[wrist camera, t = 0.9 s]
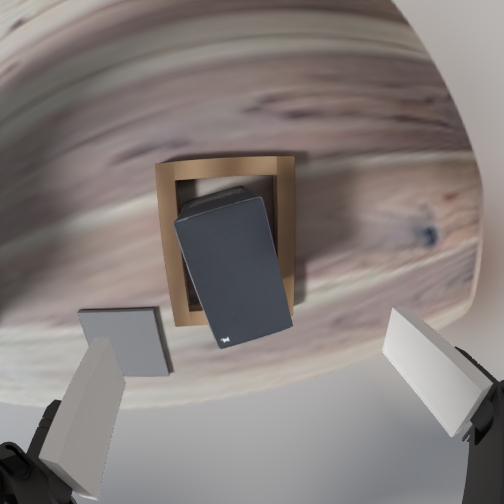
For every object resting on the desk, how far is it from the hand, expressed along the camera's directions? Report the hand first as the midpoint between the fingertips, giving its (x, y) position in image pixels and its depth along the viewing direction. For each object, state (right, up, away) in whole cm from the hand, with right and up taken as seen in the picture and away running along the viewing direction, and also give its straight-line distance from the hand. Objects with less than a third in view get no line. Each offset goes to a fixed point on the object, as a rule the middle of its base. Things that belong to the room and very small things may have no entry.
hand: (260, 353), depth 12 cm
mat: (-16, -7, +19) cm, 26 cm away
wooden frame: (-3, +5, +17) cm, 18 cm away
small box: (-3, +6, +17) cm, 19 cm away
